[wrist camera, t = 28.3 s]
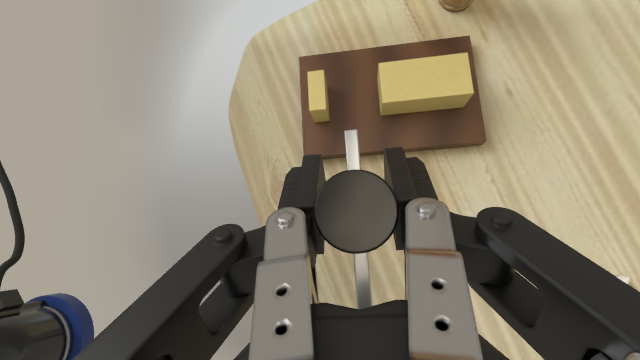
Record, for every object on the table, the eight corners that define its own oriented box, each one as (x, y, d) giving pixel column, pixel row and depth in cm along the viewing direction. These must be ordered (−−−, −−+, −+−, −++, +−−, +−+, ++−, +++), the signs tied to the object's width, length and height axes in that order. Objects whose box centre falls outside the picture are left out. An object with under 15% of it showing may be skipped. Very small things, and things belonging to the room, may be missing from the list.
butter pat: (314, 122, 43) (309, 110, 39) (312, 86, 44) (307, 71, 40) (329, 121, 42) (326, 109, 38) (327, 84, 43) (323, 69, 39)
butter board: (306, 160, 43) (303, 157, 42) (301, 62, 46) (299, 56, 45) (482, 145, 41) (486, 141, 39) (466, 42, 43) (469, 35, 42)
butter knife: (388, 294, 19) (412, 349, 9) (342, 296, 19) (320, 352, 10) (375, 159, 21) (385, 84, 11) (334, 163, 21) (307, 93, 11)
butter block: (380, 115, 42) (382, 103, 38) (377, 79, 43) (378, 62, 39) (463, 107, 40) (474, 93, 37) (458, 69, 41) (467, 52, 37)
